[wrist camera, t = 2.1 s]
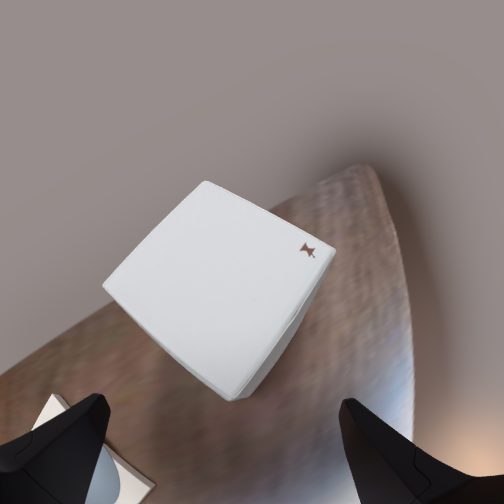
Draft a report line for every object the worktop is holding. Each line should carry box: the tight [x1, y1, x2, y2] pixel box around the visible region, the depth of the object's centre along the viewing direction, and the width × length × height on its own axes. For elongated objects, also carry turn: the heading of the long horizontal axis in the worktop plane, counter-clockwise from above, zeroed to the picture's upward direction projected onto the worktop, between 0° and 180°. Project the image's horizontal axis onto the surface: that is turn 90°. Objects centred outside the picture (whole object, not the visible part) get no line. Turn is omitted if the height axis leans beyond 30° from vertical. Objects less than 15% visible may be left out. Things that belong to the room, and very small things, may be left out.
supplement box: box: [102, 181, 336, 402], centre depth 16 cm, size 7×7×13 cm
